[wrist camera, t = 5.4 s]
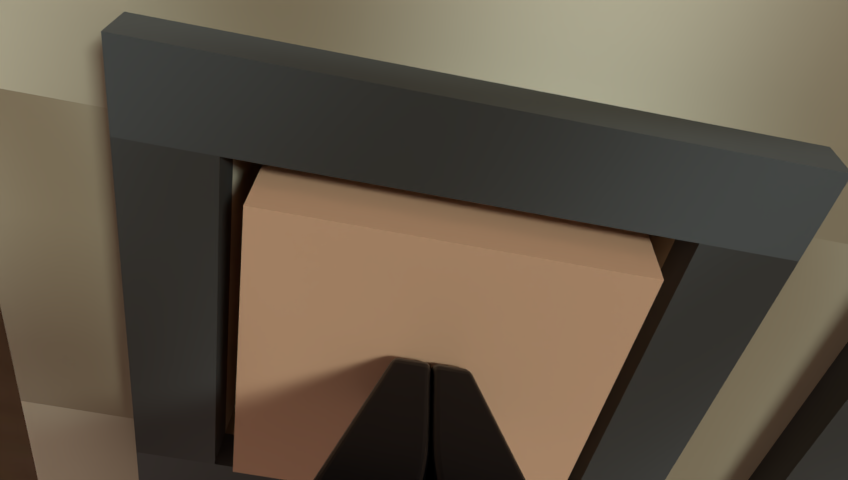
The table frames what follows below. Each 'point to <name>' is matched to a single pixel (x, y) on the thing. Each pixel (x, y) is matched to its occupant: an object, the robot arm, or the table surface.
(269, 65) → the board
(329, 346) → the peg
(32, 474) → the table surface
